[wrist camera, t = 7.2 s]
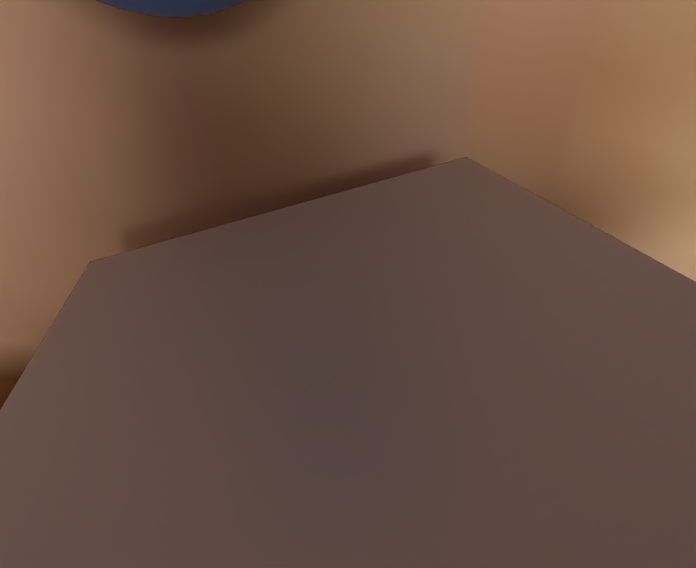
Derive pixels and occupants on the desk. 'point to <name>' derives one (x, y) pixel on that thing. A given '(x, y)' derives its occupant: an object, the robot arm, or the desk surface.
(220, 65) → the desk surface
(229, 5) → the ball
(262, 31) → the desk surface
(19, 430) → the matte gray cube
